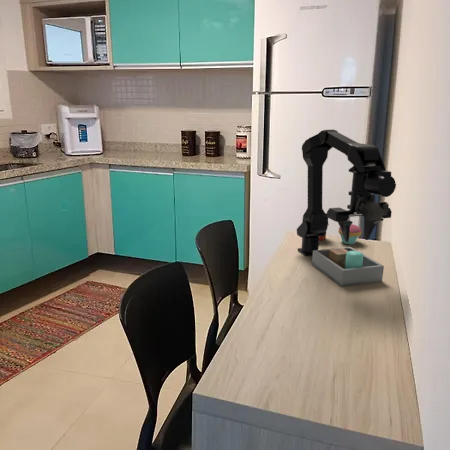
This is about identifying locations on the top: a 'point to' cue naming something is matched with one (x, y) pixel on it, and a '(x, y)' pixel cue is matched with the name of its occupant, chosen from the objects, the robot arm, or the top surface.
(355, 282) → the grey rectangular tray
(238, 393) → the top surface
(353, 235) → the cupcake
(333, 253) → the tan wooden cube
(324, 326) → the top surface
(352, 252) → the teal capsule
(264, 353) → the top surface
